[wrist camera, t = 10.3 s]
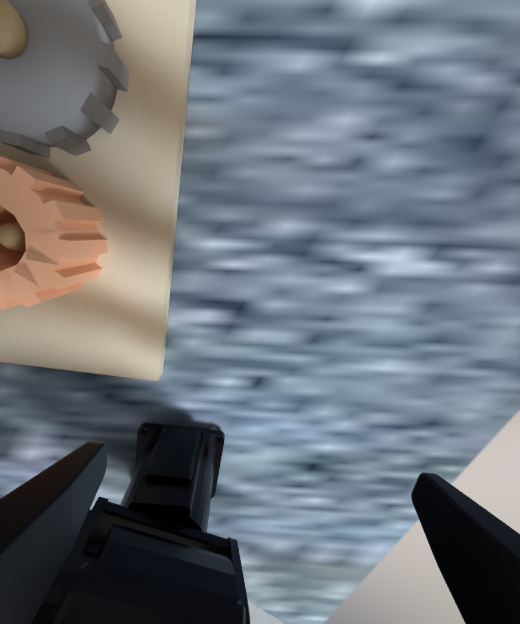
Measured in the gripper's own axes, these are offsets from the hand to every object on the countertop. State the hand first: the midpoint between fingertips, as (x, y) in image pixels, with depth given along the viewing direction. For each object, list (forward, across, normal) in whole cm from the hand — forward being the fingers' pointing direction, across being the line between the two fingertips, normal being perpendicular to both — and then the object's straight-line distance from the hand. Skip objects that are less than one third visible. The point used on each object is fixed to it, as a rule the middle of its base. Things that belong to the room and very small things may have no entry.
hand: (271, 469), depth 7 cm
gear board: (+12, +13, -6) cm, 19 cm away
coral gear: (+11, +13, -4) cm, 17 cm away
